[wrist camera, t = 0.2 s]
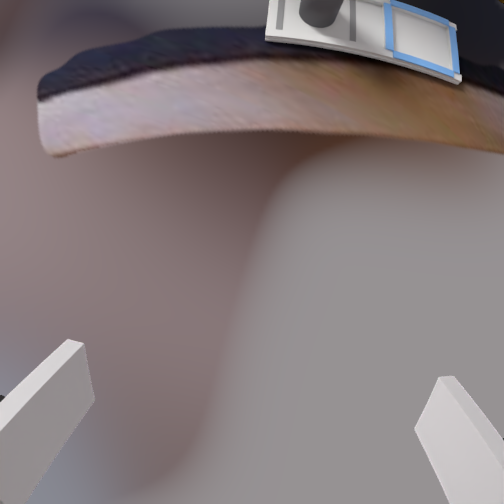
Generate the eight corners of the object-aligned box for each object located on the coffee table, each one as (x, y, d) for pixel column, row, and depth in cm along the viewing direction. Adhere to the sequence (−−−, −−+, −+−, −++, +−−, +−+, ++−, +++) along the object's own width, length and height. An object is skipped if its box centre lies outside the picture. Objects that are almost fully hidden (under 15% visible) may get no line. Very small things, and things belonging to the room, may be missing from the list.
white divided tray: (271, -18, 29) (271, -25, 27) (451, 26, 28) (456, 22, 27) (265, 40, 31) (265, 35, 30) (457, 85, 31) (463, 82, 29)
